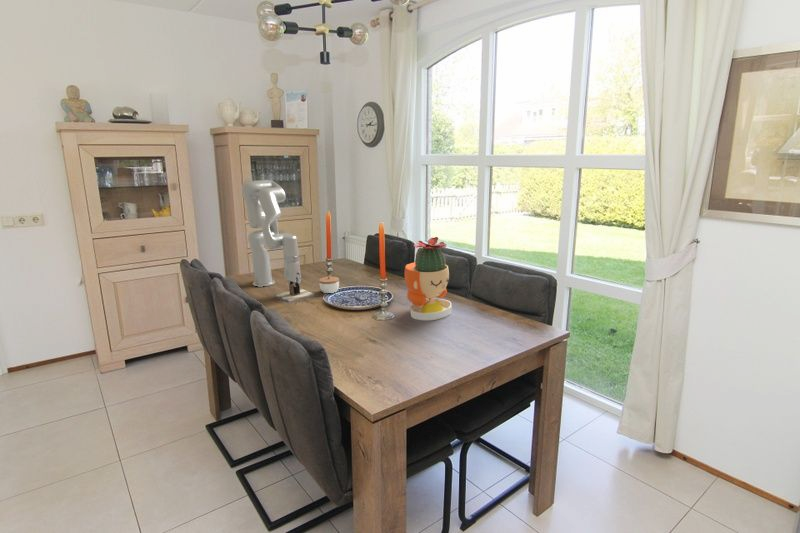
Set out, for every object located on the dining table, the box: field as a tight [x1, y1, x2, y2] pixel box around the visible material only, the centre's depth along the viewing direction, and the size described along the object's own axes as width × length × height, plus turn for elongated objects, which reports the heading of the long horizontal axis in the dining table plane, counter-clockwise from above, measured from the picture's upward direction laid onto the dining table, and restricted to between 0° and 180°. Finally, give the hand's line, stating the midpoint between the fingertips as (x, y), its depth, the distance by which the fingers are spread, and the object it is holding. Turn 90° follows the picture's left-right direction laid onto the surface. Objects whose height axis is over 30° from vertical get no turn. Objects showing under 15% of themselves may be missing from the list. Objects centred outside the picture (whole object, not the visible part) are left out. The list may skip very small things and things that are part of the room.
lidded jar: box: [318, 275, 340, 294], centre depth 245 cm, size 11×11×9 cm
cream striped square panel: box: [272, 288, 319, 305], centre depth 243 cm, size 18×18×1 cm
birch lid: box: [275, 284, 316, 303], centre depth 242 cm, size 15×15×6 cm
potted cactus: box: [403, 236, 452, 321], centre depth 209 cm, size 22×22×35 cm
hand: (294, 292), depth 242 cm, fingers closed on birch lid, 4 cm apart
